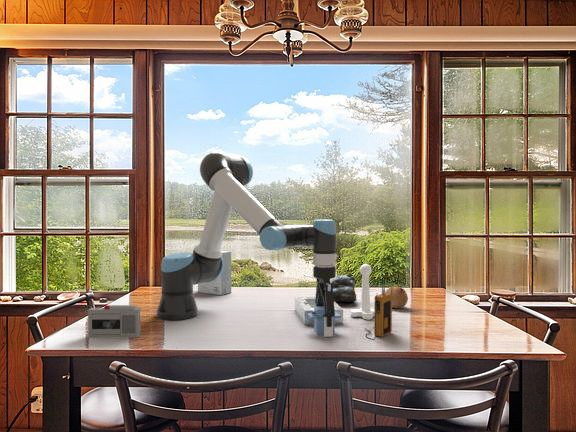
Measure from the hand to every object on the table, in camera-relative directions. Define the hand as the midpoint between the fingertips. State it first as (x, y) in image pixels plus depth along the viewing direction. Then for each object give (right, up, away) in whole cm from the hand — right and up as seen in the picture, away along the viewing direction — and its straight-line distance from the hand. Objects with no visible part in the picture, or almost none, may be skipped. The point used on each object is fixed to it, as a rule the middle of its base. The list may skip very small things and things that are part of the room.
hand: (324, 330), depth 143 cm
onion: (+33, 0, +34) cm, 47 cm away
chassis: (-1, 0, +20) cm, 20 cm away
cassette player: (-68, 0, -6) cm, 68 cm away
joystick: (+18, 0, +19) cm, 26 cm away
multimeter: (+16, -1, -1) cm, 16 cm away
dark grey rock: (+10, +1, +44) cm, 45 cm away
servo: (0, 0, 0) cm, 0 cm away
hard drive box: (-48, +1, +64) cm, 79 cm away
